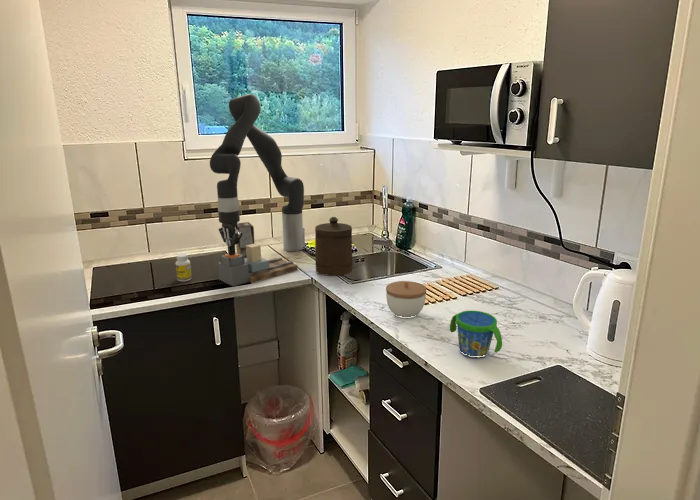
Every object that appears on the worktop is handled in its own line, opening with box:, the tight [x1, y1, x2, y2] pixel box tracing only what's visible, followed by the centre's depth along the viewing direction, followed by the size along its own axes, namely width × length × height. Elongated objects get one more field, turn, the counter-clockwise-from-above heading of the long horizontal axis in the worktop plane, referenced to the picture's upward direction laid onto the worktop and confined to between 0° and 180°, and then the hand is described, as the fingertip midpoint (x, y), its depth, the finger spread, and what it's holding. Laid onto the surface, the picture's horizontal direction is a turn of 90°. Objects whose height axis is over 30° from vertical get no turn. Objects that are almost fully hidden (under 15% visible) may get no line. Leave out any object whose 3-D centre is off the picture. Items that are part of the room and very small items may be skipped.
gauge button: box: [224, 252, 240, 258], centre depth 183 cm, size 4×4×3 cm
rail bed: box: [248, 257, 299, 284], centre depth 195 cm, size 22×14×3 cm, turn 135°
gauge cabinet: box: [217, 252, 250, 287], centre depth 184 cm, size 7×10×10 cm
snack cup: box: [449, 310, 503, 356], centre depth 129 cm, size 16×10×10 cm
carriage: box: [244, 243, 270, 272], centre depth 190 cm, size 8×9×9 cm
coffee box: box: [235, 221, 256, 259], centre depth 207 cm, size 9×6×16 cm
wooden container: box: [314, 216, 353, 277], centre depth 194 cm, size 15×15×22 cm
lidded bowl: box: [385, 280, 427, 317], centre depth 154 cm, size 13×13×11 cm
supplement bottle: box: [175, 253, 192, 282], centre depth 185 cm, size 5×5×10 cm
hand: (231, 254), depth 182 cm, fingers closed
